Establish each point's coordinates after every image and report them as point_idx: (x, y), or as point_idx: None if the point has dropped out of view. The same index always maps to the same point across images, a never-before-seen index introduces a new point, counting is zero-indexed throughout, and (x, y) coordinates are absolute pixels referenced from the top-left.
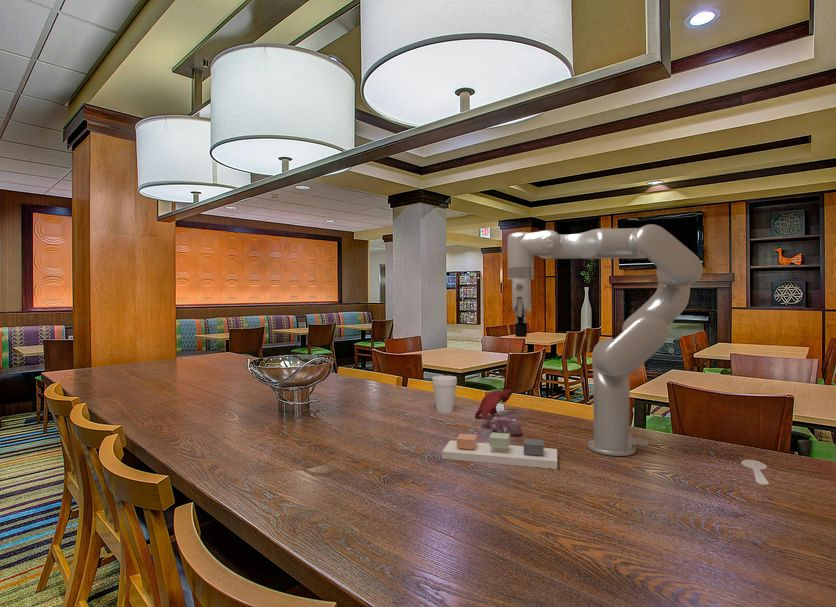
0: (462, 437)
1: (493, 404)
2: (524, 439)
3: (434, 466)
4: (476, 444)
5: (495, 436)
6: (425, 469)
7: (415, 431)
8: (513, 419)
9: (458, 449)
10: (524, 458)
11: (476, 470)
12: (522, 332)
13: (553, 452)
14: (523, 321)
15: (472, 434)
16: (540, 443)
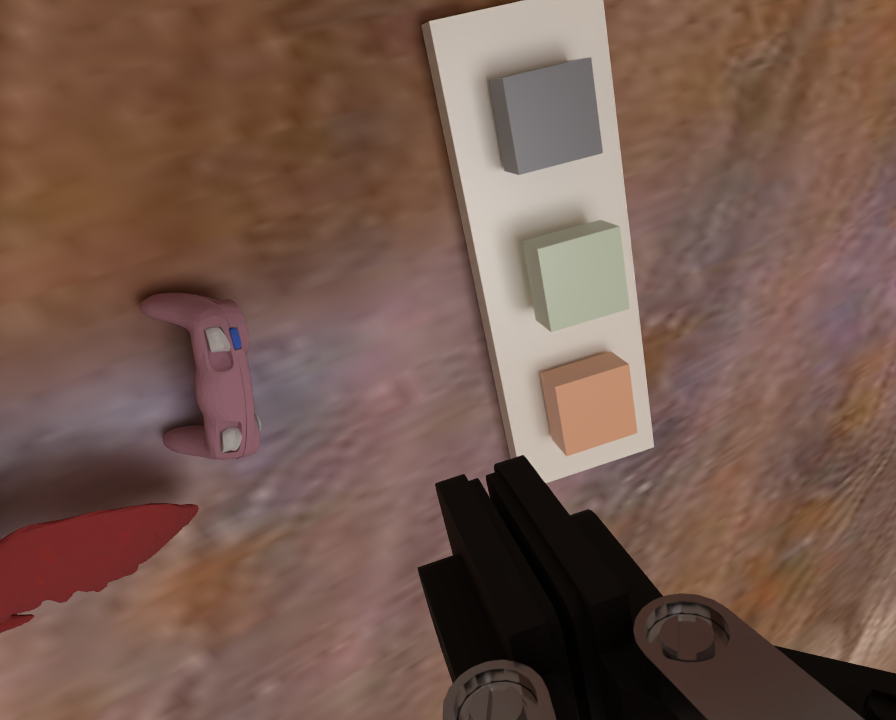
0: (614, 421)
1: (135, 520)
2: (534, 170)
3: (712, 418)
4: (570, 366)
5: (603, 292)
6: (744, 427)
7: (391, 683)
8: (212, 344)
9: None
10: (617, 134)
11: (701, 282)
12: (599, 527)
13: (489, 27)
14: (703, 658)
15: (559, 407)
16: (563, 78)
